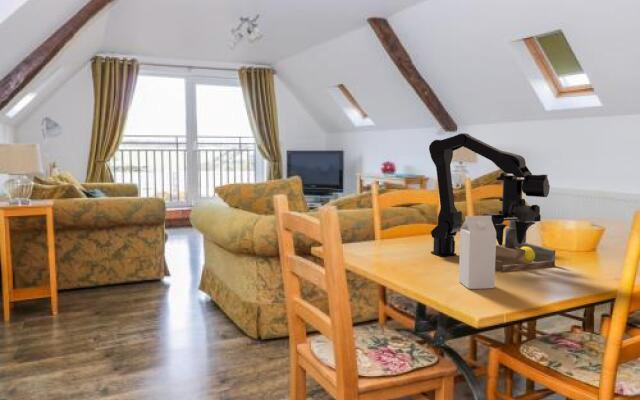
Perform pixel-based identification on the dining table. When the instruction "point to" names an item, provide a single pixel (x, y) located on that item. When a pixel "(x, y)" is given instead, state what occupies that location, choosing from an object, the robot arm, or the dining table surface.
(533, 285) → the dining table surface
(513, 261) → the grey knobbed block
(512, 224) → the bottle
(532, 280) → the dining table surface
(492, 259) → the milk carton
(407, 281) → the dining table surface
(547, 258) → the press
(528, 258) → the lemon
